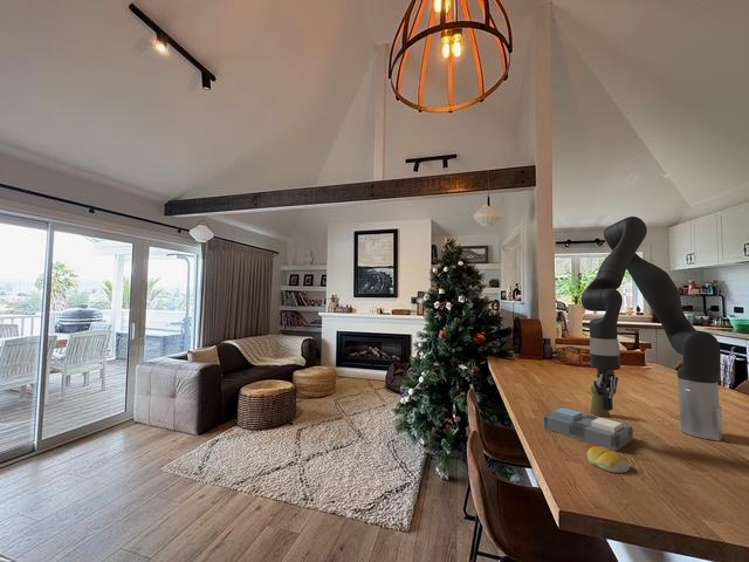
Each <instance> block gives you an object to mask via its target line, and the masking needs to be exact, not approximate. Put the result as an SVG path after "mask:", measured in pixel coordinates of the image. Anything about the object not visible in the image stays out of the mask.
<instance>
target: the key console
mask: <svg viewBox="0 0 749 562" xmlns="http://www.w3.org/2000/svg"><path fill="white" fill-rule="evenodd" d="M581 413H582V412H581ZM543 418H544V419H543V421H544V422H543V424H544V429H545V430H547V429H548V430H547V431H550V430H551V431H550V432H553V431H554V433H556V432H557V433H556V434H559V433H560V434H559V435H562V434H563V436H566V437H569V438H572V439H575V440H578V441H581V440H582V441H581V442H584V441H585V442H584V443H587V442H588V443H587V444H591V445H594V446H595V447H596V446H601V447H605V448H608V449H609V450H611V451H614V452H618V451H619V450H620V449H622V448H623V447H625V446H626V445H628V444H629V443H631V442H632V441H633V440H634V438H633V437H634V435H633V434H634V433H633V432H634V431H633V425H628V424H625V423H622V429H621V430H620V431H618V432H616V433H613V432H610V431H606V430H603V429H599V428H596V427H592V426H591V421H593V420H595V419H597V418H599V417H598V416H595V415H592V414H587V413H582V418H580V419H578V420H576V421H571V420H568V419H564V418H561V417H557V416H554V412H552V413H549V414H547V415H544V416H543ZM631 440H632V441H631ZM628 442H629V443H628Z"/></svg>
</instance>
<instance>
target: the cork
mask: <svg viewBox="0 0 749 562" xmlns="http://www.w3.org/2000/svg"><path fill="white" fill-rule="evenodd" d="M590 391H591V392H592V397H591V398H592V399H591V407H590V415H592V414H593V415H592V416H595V417H598V416H599V417H600V418H610V417H611V415H610V411H609V410H604V409H603V403H602V397H601V396H599V395H598V393H597V390H596V388H595V386H594V384H592V385H590ZM599 417H598V418H599Z"/></svg>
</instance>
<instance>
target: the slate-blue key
mask: <svg viewBox="0 0 749 562" xmlns="http://www.w3.org/2000/svg"><path fill="white" fill-rule="evenodd" d="M553 413H554V416H557V417H561V418H564V419H568V420H571V421H576V420H578V419H580V418H582V412H580V411H578V410H574V409H569V408H566V407H560V408H558V409H556V410H554V411H553Z"/></svg>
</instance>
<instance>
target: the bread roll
mask: <svg viewBox="0 0 749 562" xmlns="http://www.w3.org/2000/svg"><path fill="white" fill-rule="evenodd" d="M586 458H587V460H588V462H589V463H590V464H592V465H593V466H596V467H597V468H599V469H601V470H603V471H606V472H610V473H614V474H618V473H619V474H621V473H626V472H628V471H629V470H630V463H629V461H628V459H627V458H626V457H625V456H623V455H622V454H620V453H619V452H618V451H616V452H615V451H612V450H609V449H608V448H605V447H601V446H596V445H595V446H591V447H590V448H588V450H587V452H586Z"/></svg>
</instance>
